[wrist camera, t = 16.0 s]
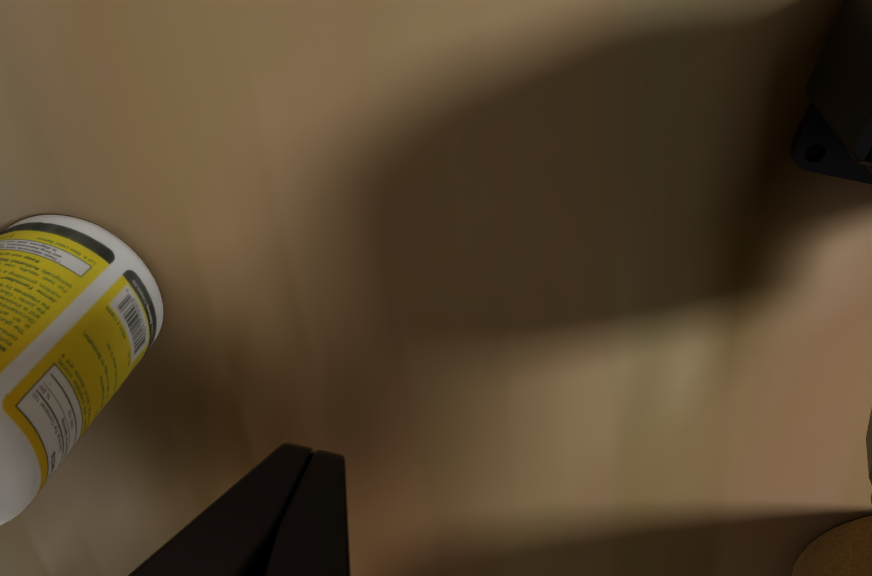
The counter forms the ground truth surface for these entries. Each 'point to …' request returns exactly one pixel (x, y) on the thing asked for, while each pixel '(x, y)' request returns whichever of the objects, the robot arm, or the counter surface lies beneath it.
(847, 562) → the plant pot
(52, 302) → the pill bottle
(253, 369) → the counter surface
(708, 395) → the counter surface
